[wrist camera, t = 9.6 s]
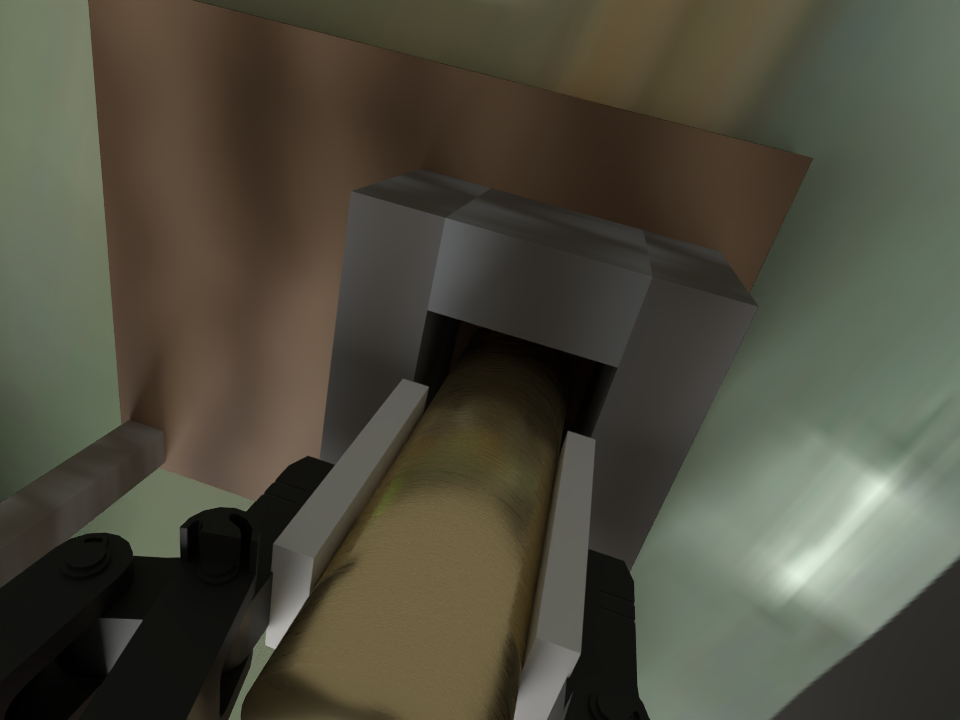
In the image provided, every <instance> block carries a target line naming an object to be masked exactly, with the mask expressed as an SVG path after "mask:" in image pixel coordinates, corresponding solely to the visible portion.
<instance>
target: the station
mask: <svg viewBox="0 0 960 720" xmlns="http://www.w3.org/2000/svg"><path fill="white" fill-rule="evenodd" d="M88 4H89V17H90V29H91V42H92V55H93V67H94V80H95V93H96V105H97V118H98V131H99V144H100V156H101V169H102V182H103V194H104V207H105V220H106V232H107V245H108V258H109V270H110V283H111V296H112V309H113V321H114V334H115V347H116V359H117V372H118V385H119V397H120V410H121V423H122V425H121V426H119V427H117V428H116V429H114V430H113V431H111V432H110V433H108V434H107V435H105V436H103V437H102V438H100V439H99V440H97V441H96V442H94V443H93V444H91V445H89V446H88V447H86V448H85V449H83V450H82V451H80V452H79V453H77V454H75V455H74V456H72V457H71V458H69V459H68V460H66V461H65V462H63V463H61V464H60V465H58V466H57V467H55V468H54V469H52V470H51V471H49V472H47V473H46V474H44V475H43V476H41V477H40V478H38V479H37V480H35V481H33V482H32V483H30V484H29V485H27V486H26V487H24V488H23V489H21V490H20V491H18V492H16V493H15V494H13V495H12V496H10V497H9V498H7V499H6V500H4V501H2V502H1V503H0V588H1V587H2V586H4V585H5V584H6V583H8V582H9V581H11V580H12V579H13V578H15V577H16V576H17V575H19V574H20V573H21V572H23V571H24V570H25V569H27V568H28V567H29V566H31V565H32V564H33V563H35V562H36V561H37V560H39V559H40V558H42V557H43V556H44V555H46V554H47V553H48V552H50V551H51V550H52V549H54V548H55V547H57V546H59V545H60V544H62V543H64V542H65V541H66V540H67V539H69V538H70V537H71V536H73V535H74V534H75V533H76V532H78V531H79V530H80V529H81V528H83V527H84V526H85V525H87V524H88V523H89V522H90V521H92V520H93V519H94V518H95V517H97V516H98V515H99V514H100V513H102V512H103V511H104V510H106V509H107V508H108V507H109V506H111V505H112V504H113V503H114V502H116V501H117V500H118V499H119V498H121V497H122V496H123V495H125V494H126V493H127V492H128V491H130V490H131V489H132V488H133V487H135V486H136V485H137V484H139V483H140V482H141V481H142V480H144V479H145V478H146V477H147V476H149V475H150V474H151V473H152V472H154V471H155V470H156V469H158V468H159V467H160V468H163V469H165V470H168V471H171V472H174V473H177V474H180V475H183V476H185V477H188V478H191V479H194V480H197V481H200V482H202V483H205V484H208V485H211V486H214V487H217V488H220V489H222V490H225V491H228V492H231V493H234V494H237V495H240V496H242V497H245V498H248V499H251V500H254V501H256V500H257V499H258V498H259V497H260V496H261V495H263V494H264V492H265V491H266V490H267V488H268V487H269V486H270V485H271V484H272V483H274V482H275V480H276V479H277V478H278V476H279V475H280V474H281V473H282V472H283V471H284V470H285V469H286V468H287V467H288V466H289V465H290V464H292V463H294V462H296V461H298V460H300V459H302V458H304V457H306V456H311V457H314V458H317V459H320V460H323V461H326V462H329V463H331V464H334V465H336V463H337V462H338V461H339V459H340V458H341V457H342V456H343V454H344V453H345V452H346V451H347V449H348V448H349V447H350V445H351V444H352V443H353V442H354V440H355V439H356V438H357V437H358V435H359V434H360V433H361V431H362V430H363V429H364V428H365V426H366V425H367V424H368V423H369V421H370V420H371V419H372V417H373V416H374V415H375V414H376V412H377V411H378V410H379V409H380V407H381V406H382V405H383V403H384V402H385V401H386V400H387V398H388V397H389V396H390V395H391V393H392V392H393V391H394V390H395V388H396V387H397V386H398V384H399V383H400V382H401V381H402V379H406V380H409V381H412V382H415V383H419V384H422V385H425V386H428V387H429V389H428V394H427V398H426V403H425V408H424V413H425V411H426V410H427V408H428V406H429V405H430V403H431V402H432V400H433V398H434V397H435V395H436V394H437V392H438V390H439V389H440V387H441V386H442V384H443V383H444V381H445V379H446V378H447V376H448V375H449V373H450V371H451V370H452V368H453V367H454V365H455V364H456V362H457V360H458V359H459V357H460V356H461V354H462V352H463V351H464V349H465V348H466V346H467V344H468V343H469V341H470V340H471V338H472V337H473V335H474V334H475V333H476V332H477V331H478V330H479V329H480V328H481V327H485V328H488V329H491V330H495V331H498V332H501V333H505V334H508V335H511V336H515V337H518V338H521V339H524V340H528V341H531V342H534V343H538V344H541V345H544V346H548V347H551V348H554V349H558V350H561V351H564V352H567V353H570V355H571V358H572V363H573V373H572V380H571V386H570V392H569V398H568V404H567V410H566V416H565V421H564V427H563V433H562V439H561V445H560V451H559V455H560V452H561V449H562V446H563V443H564V441H565V438H566V435H567V432H568V431H570V432H573V433H576V434H579V435H583V436H586V437H589V438H592V439H595V455H594V469H593V484H592V498H591V513H590V528H589V542H588V549H591V550H594V551H597V552H599V553H602V554H605V555H608V556H611V557H614V558H617V559H620V560H623V561H624V562H625V564H626V566H627V568H628V570H629V572H630V570H631V568H632V566H633V564H634V562H635V560H636V558H637V556H638V554H639V552H640V550H641V547H642V545H643V543H644V541H645V539H646V537H647V535H648V533H649V531H650V529H651V527H652V525H653V523H654V521H655V519H656V517H657V515H658V512H659V510H660V508H661V506H662V504H663V502H664V500H665V498H666V496H667V494H668V492H669V490H670V488H671V486H672V484H673V482H674V480H675V478H676V475H677V473H678V471H679V469H680V467H681V465H682V463H683V461H684V459H685V457H686V455H687V453H688V451H689V449H690V447H691V445H692V443H693V440H694V438H695V436H696V434H697V432H698V430H699V428H700V426H701V424H702V422H703V420H704V418H705V416H706V414H707V412H708V410H709V408H710V405H711V403H712V401H713V399H714V397H715V395H716V393H717V391H718V389H719V387H720V385H721V383H722V381H723V379H724V377H725V375H726V373H727V370H728V368H729V366H730V364H731V362H732V360H733V358H734V356H735V354H736V352H737V350H738V348H739V346H740V344H741V342H742V340H743V338H744V335H745V333H746V331H747V329H748V327H749V325H750V323H751V321H752V319H753V317H754V315H755V313H756V311H757V309H758V305H757V304H756V302H755V301H754V300H753V298H752V297H751V295H750V294H749V293H750V291H751V289H752V287H753V284H754V282H755V280H756V278H757V276H758V274H759V272H760V270H761V268H762V265H763V263H764V261H765V259H766V257H767V255H768V253H769V251H770V249H771V246H772V244H773V242H774V240H775V238H776V236H777V234H778V232H779V229H780V227H781V225H782V223H783V221H784V219H785V217H786V215H787V213H788V210H789V208H790V206H791V204H792V202H793V200H794V198H795V196H796V193H797V191H798V189H799V187H800V185H801V183H802V181H803V179H804V177H805V174H806V172H807V170H808V168H809V166H810V164H811V162H812V160H813V158H810V157H806V156H802V155H799V154H795V153H791V152H787V151H783V150H779V149H775V148H771V147H767V146H764V145H760V144H756V143H752V142H748V141H744V140H740V139H736V138H732V137H728V136H724V135H720V134H716V133H713V132H709V131H705V130H701V129H697V128H693V127H689V126H685V125H681V124H677V123H673V122H669V121H665V120H662V119H658V118H654V117H650V116H646V115H642V114H638V113H634V112H630V111H626V110H622V109H618V108H614V107H611V106H607V105H603V104H599V103H595V102H591V101H587V100H583V99H579V98H575V97H571V96H567V95H563V94H560V93H556V92H552V91H548V90H544V89H540V88H536V87H532V86H528V85H524V84H520V83H516V82H512V81H509V80H505V79H501V78H497V77H493V76H489V75H485V74H481V73H477V72H473V71H469V70H465V69H461V68H458V67H454V66H450V65H446V64H442V63H438V62H434V61H430V60H426V59H422V58H418V57H414V56H410V55H407V54H403V53H399V52H395V51H391V50H387V49H383V48H379V47H375V46H371V45H367V44H363V43H359V42H356V41H352V40H348V39H344V38H340V37H336V36H332V35H328V34H324V33H320V32H316V31H312V30H308V29H305V28H301V27H297V26H293V25H289V24H285V23H281V22H277V21H273V20H269V19H265V18H261V17H257V16H254V15H250V14H246V13H242V12H238V11H234V10H230V9H226V8H222V7H218V6H214V5H210V4H206V3H203V2H199V1H195V0H88ZM424 413H423V414H424Z"/></svg>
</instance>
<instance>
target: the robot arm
mask: <svg viewBox="0 0 960 720" xmlns="http://www.w3.org/2000/svg"><path fill="white" fill-rule="evenodd" d="M428 389H429V387H428V386H425V385H422V384H419V383H415V382H412V381H409V380H406V379H402V381H401V382H400V383H399V384H398V386H397V387H396V388H395V390H394V391H393V392H392V393H391V395H390V396H389V397H388V398H387V400H386V401H385V402H384V403H383V405H382V406H381V407H380V409H379V410H378V411H377V412H376V414H375V415H374V416H373V417H372V419H371V420H370V421H369V423H368V424H367V425H366V426H365V428H364V429H363V430H362V431H361V433H360V434H359V435H358V437H357V438H356V439H355V440H354V442H353V443H352V444H351V445H350V447H349V448H348V449H347V451H346V452H345V453H344V454H343V456H342V457H341V458H340V459H339V461H338V462H337V463H336V465H334V464H331V463H329V462H326V461H323V460H320V459H317V458H314V457H311V456H306V457H304V458H302V459H300V460H298V461H296V462H294V463H292V464H290V465H289V466H288V467H287V468H286V469H285V470H284V471H283V472H282V473H281V474H280V475H279V476H278V478H277V479H276V480H275V482H274V483H272V484H271V485H270V486H269V487H268V488H267V490H266V491H265V492H264V494H263V495H261V496H260V497H259V498H258V499H257V500H256V502H255V503H254V504H253V505H252V506H251V507H250V508H249V509H248V510H247V511H246V512H245V511H242V510H239V509H236V508H224V507H219V508H214V509H209V510H204V511H202V512H200V513H198V514H196V515H194V516H192V517H190V518H189V519H188V520H187V521H186V522H185V523H184V524H183V525H182V526H181V527H180V554H181V557H180V558H161V557H144V556H133V552H132V549H131V547H130V544H129V542H127V541H126V540H125V539H123V538H122V537H120V536H118V535H114V534H109V533H91V534H85V535H82V536H78V537H75V538H72V539H69V540H68V541H66V542H64V543H62V544H60V545H59V546H57V547H55V548H54V549H52V550H51V551H50V552H48V553H47V554H46V555H44V556H43V557H42V558H40V559H39V560H37V561H36V562H35V563H33V564H32V565H31V566H29V567H28V568H27V569H25V570H24V571H23V572H21V573H20V574H19V575H17V576H16V577H15V578H13V579H12V580H11V581H9V582H8V583H6V584H5V585H4V586H2V587H1V588H0V720H228V719H229V717H230V714H231V712H232V710H233V707H234V705H235V702H236V700H237V698H238V695H239V693H240V690H241V688H242V685H243V683H244V681H245V678H246V676H247V673H248V671H249V669H250V665H251V660H252V655H253V648H254V646H255V645H256V643H257V642H258V640H259V639H260V637H261V636H262V634H263V633H264V631H265V630H266V628H267V630H266V642H265V645H266V646H268V647H271V648H274V649H276V647H277V646H278V644H279V643H280V641H281V639H282V638H283V636H284V635H285V633H286V632H287V630H288V628H289V627H290V625H291V624H292V622H293V620H294V619H295V617H296V616H297V614H298V613H299V611H300V609H301V608H302V606H303V605H304V603H305V601H306V600H307V598H308V597H309V595H310V594H311V592H312V590H313V589H314V587H315V586H316V584H317V582H318V581H319V579H320V578H321V576H322V574H323V573H324V571H325V570H326V568H327V567H328V565H329V563H330V562H331V560H332V559H333V557H334V555H335V554H336V552H337V551H338V549H339V548H340V546H341V544H342V543H343V541H344V540H345V538H346V536H347V535H348V533H349V532H350V530H351V528H352V527H353V525H354V524H355V522H356V521H357V519H358V517H359V516H360V514H361V513H362V511H363V509H364V508H365V506H366V505H367V503H368V502H369V500H370V498H371V497H372V495H373V494H374V492H375V490H376V489H377V487H378V486H379V484H380V482H381V481H382V479H383V478H384V476H385V475H386V473H387V471H388V470H389V468H390V467H391V465H392V463H393V462H394V460H395V459H396V457H397V456H398V454H399V452H400V451H401V449H402V448H403V446H404V444H405V443H406V441H407V440H408V438H409V436H410V435H411V433H412V432H413V430H414V429H415V427H416V425H417V424H418V422H419V421H420V419H421V417H422V416H423V413H424V408H425V403H426V398H427V394H428ZM594 455H595V439H592V438H589V437H586V436H583V435H579V434H576V433H573V432H570V431H568V432H567V435H566V438H565V441H564V443H563V446H562V449H561V452H560V455H559V457H558V461H557V467H556V472H555V478H554V484H553V490H552V496H551V502H550V507H549V513H548V519H547V525H546V531H545V537H544V542H543V548H542V554H541V560H540V566H539V572H538V577H537V583H536V589H535V595H534V601H533V607H532V612H531V618H530V624H529V630H528V636H527V642H526V647H525V653H524V659H523V665H522V671H521V679H520V686H519V691H518V697H517V703H516V709H515V715H514V720H650V718H649V717H648V714H647V712H646V709H645V707H644V704H643V702H642V701H641V700H640V698H639V693H638V687H637V661H636V630H635V623H634V621H635V606H634V602H635V599H634V581H633V579H632V576H631V574H630V572H629V570H628V568H627V566H626V564H625V562H624V561H623V560H620V559H617V558H614V557H611V556H608V555H605V554H602V553H599V552H597V551H594V550H591V549H588V542H589V528H590V513H591V498H592V484H593V469H594Z"/></svg>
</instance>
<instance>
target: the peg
mask: <svg viewBox="0 0 960 720" xmlns="http://www.w3.org/2000/svg"><path fill="white" fill-rule="evenodd" d="M572 373H573V363H572V358H571V355H570V353H567V352H564V351H561V350H558V349H554V348H551V347H548V346H544V345H541V344H538V343H534V342H531V341H528V340H524V339H521V338H518V337H515V336H511V335H508V334H505V333H501V332H498V331H495V330H491V329H488V328H485V327H481V328H480V329H479V330H478V331H477V332H476V333H475V334H474V335H473V337H472V338H471V340H470V341H469V343H468V344H467V346H466V348H465V349H464V351H463V352H462V354H461V356H460V357H459V359H458V360H457V362H456V364H455V365H454V367H453V368H452V370H451V371H450V373H449V375H448V376H447V378H446V379H445V381H444V383H443V384H442V386H441V387H440V389H439V390H438V392H437V394H436V395H435V397H434V398H433V400H432V402H431V403H430V405H429V406H428V408H427V410H426V411H425V413H424V414H423V416H422V417H421V419H420V421H419V422H418V424H417V425H416V427H415V429H414V430H413V432H412V433H411V435H410V436H409V438H408V440H407V441H406V443H405V444H404V446H403V448H402V449H401V451H400V452H399V454H398V456H397V457H396V459H395V460H394V462H393V463H392V465H391V467H390V468H389V470H388V471H387V473H386V475H385V476H384V478H383V479H382V481H381V482H380V484H379V486H378V487H377V489H376V490H375V492H374V494H373V495H372V497H371V498H370V500H369V502H368V503H367V505H366V506H365V508H364V509H363V511H362V513H361V514H360V516H359V517H358V519H357V521H356V522H355V524H354V525H353V527H352V528H351V530H350V532H349V533H348V535H347V536H346V538H345V540H344V541H343V543H342V544H341V546H340V548H339V549H338V551H337V552H336V554H335V555H334V557H333V559H332V560H331V562H330V563H329V565H328V567H327V568H326V570H325V571H324V573H323V574H322V576H321V578H320V579H319V581H318V582H317V584H316V586H315V587H314V589H313V590H312V592H311V594H310V595H309V597H308V598H307V600H306V601H305V603H304V605H303V606H302V608H301V609H300V611H299V613H298V614H297V616H296V617H295V619H294V620H293V622H292V624H291V625H290V627H289V628H288V630H287V632H286V633H285V635H284V636H283V638H282V639H281V641H280V643H279V644H278V646H277V647H276V649H275V651H274V652H273V654H272V655H271V657H270V659H269V660H268V662H267V663H266V665H265V666H264V668H263V670H262V671H261V673H260V674H259V676H258V678H257V679H256V681H255V682H254V684H253V685H252V687H251V689H250V690H249V692H248V693H247V695H246V697H245V700H244V702H243V704H242V710H241V720H514V715H515V709H516V703H517V697H518V691H519V686H520V679H521V671H522V665H523V659H524V653H525V647H526V642H527V636H528V630H529V624H530V618H531V612H532V607H533V601H534V595H535V589H536V583H537V577H538V572H539V566H540V560H541V554H542V548H543V542H544V537H545V531H546V525H547V519H548V513H549V507H550V502H551V496H552V490H553V484H554V478H555V472H556V467H557V461H558V457H559V451H560V445H561V439H562V433H563V427H564V421H565V416H566V410H567V404H568V398H569V392H570V386H571V380H572Z"/></svg>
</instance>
